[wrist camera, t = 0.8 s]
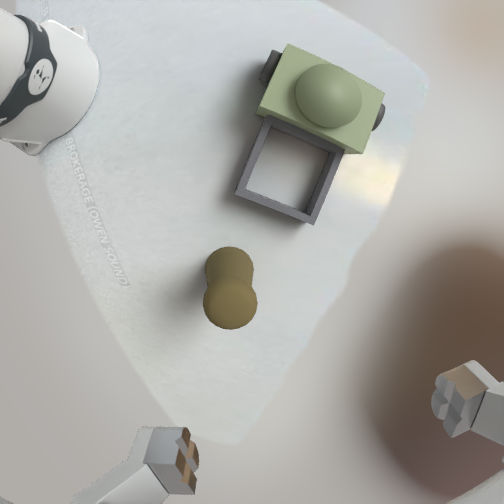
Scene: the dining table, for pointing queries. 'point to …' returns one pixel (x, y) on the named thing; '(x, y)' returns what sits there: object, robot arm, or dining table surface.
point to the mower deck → (313, 117)
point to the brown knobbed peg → (229, 288)
